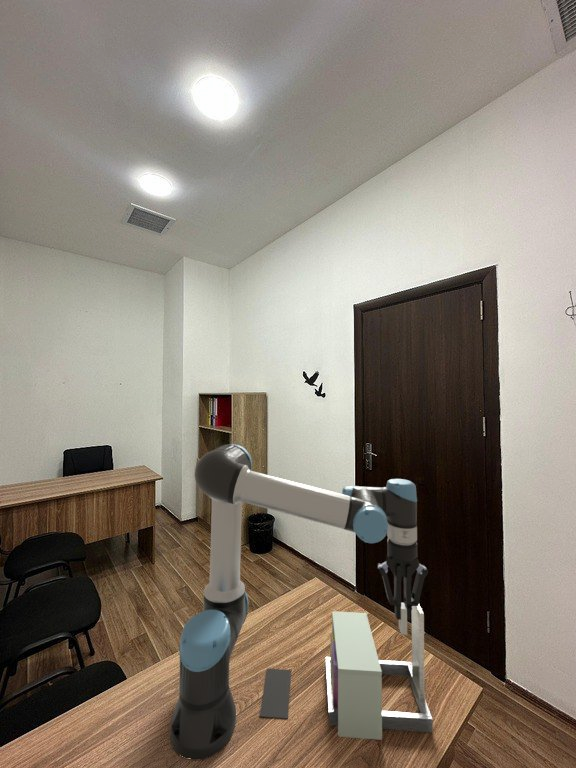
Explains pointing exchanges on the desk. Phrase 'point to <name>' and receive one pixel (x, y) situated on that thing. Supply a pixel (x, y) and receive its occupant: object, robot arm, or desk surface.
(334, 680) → the box
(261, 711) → the mat
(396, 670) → the frame
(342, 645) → the sage green tall block
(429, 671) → the desk surface
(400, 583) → the robot arm
